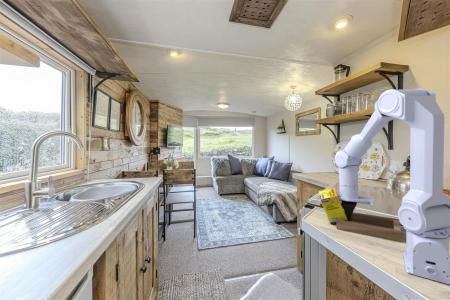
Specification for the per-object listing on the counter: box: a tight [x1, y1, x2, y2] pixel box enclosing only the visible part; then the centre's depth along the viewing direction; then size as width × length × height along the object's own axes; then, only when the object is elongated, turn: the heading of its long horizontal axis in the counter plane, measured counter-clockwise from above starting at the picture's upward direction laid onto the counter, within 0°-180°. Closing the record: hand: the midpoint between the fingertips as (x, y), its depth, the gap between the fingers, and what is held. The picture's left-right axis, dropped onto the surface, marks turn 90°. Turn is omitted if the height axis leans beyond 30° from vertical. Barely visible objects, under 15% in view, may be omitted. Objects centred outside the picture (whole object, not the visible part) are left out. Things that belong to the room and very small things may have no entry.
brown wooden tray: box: [335, 211, 402, 243], centre depth 69 cm, size 11×17×3 cm, turn 52°
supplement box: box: [318, 187, 348, 225], centre depth 74 cm, size 6×6×11 cm
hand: (349, 221), depth 72 cm, fingers closed
